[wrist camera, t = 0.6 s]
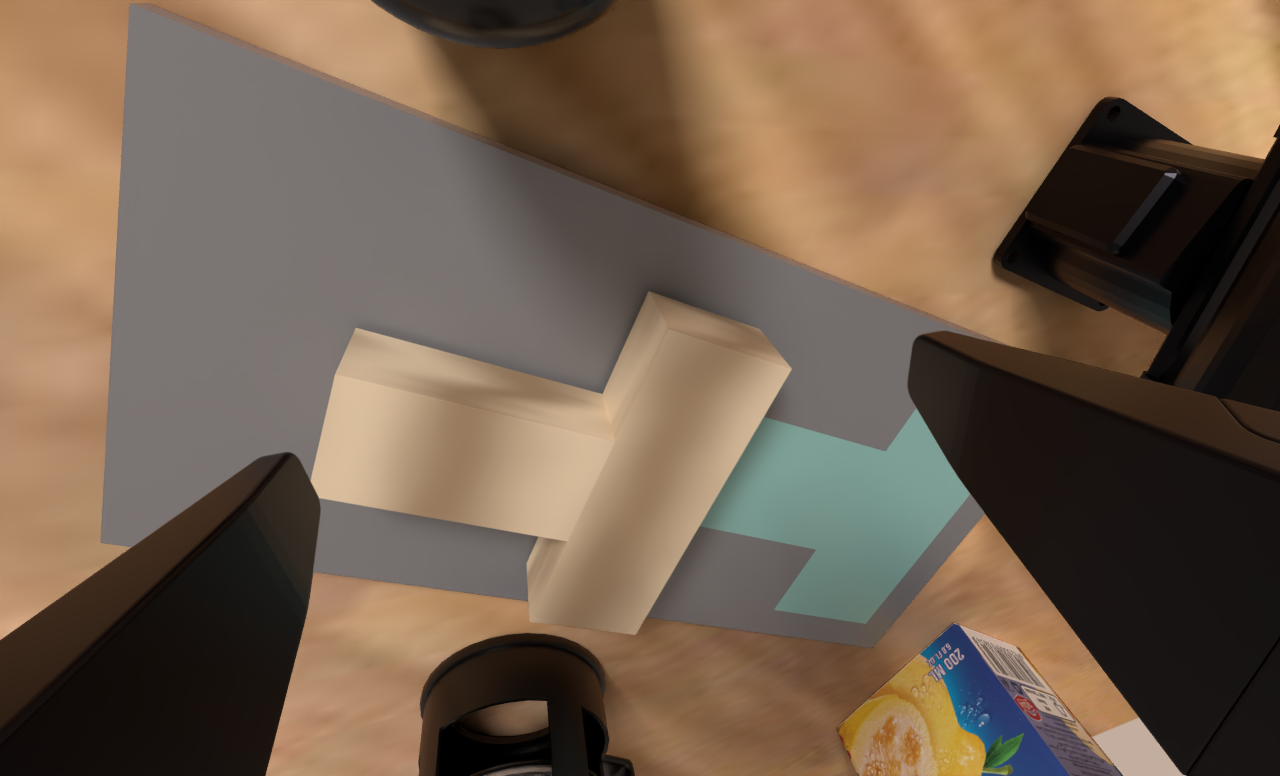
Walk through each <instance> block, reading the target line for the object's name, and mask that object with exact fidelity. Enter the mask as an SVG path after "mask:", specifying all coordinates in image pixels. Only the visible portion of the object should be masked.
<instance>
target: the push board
mask: <svg viewBox="0 0 1280 776" xmlns="http://www.w3.org/2000/svg"><path fill="white" fill-rule="evenodd" d="M648 291H650V292H653V293H656V294H659V295H662V296H665V297H668V298H671V299H673V300H676V301H679V302H682V303H685V304H688V305H691V306H694V307H697V308H700V309H703V310H706V311H709V312H711V313H714V314H717V315H720V316H723V317H726V318H729V319H732V320H735V321H738V322H741V323H744V324H746V325H749V326H752V327H755V328H758V329H760V330H761V331H762V333H763V334H764V335H765V336H766V337H767V339H768V340H769V341H770V342H771V344H772V345H773V346H774V347H775V349H776V350H777V351H778V352H779V354H780V355H781V356H782V357H783V358H784V360H785V361H786V362H787V363H788V365H789V366H790V367H791V368H792V370H791V371H790V373H789V375H788V377H787V378H786V380H785V382H784V383H783V385H782V387H781V388H780V390H779V392H778V394H777V395H776V397H775V399H774V400H773V402H772V404H771V405H770V407H769V409H768V411H767V412H766V414H765V416H764V417H763V419H762V421H761V422H760V424H759V426H758V428H757V429H756V431H755V433H754V434H753V436H752V438H751V439H750V441H749V443H748V445H747V446H746V448H745V450H744V451H743V453H742V455H741V456H740V458H739V460H738V462H737V463H736V465H735V467H734V468H733V470H732V472H731V473H730V475H729V477H728V479H727V480H726V482H725V484H724V485H723V487H722V489H721V490H720V492H719V494H718V496H717V497H716V499H715V501H714V502H713V504H712V506H711V507H710V509H709V511H708V513H707V514H706V516H705V518H704V519H703V521H702V523H701V525H700V526H699V528H698V530H697V531H696V533H695V535H694V536H693V538H692V540H691V542H690V543H689V545H688V547H687V548H686V550H685V552H684V553H683V555H682V557H681V559H680V560H679V562H678V564H677V565H676V567H675V569H674V570H673V572H672V574H671V576H670V577H669V579H668V581H667V582H666V584H665V586H664V587H663V589H662V591H661V593H660V594H659V596H658V598H657V599H656V601H655V603H654V604H653V606H652V608H651V610H650V611H649V613H648V615H647V616H646V617H648V618H655V619H662V620H670V621H677V622H684V623H692V624H699V625H706V626H714V627H721V628H728V629H736V630H743V631H750V632H758V633H765V634H772V635H780V636H787V637H794V638H802V639H809V640H817V641H824V642H831V643H839V644H846V645H853V646H861V647H868V648H873V647H874V646H875V645H876V644H877V642H878V641H879V640H880V639H881V638H882V636H883V635H884V634H885V633H886V632H887V630H888V629H889V628H890V627H891V626H892V624H893V623H894V622H895V621H896V620H897V618H898V617H899V616H900V615H901V614H902V612H903V611H904V610H905V609H906V608H907V606H908V605H909V604H910V603H911V602H912V600H913V599H914V598H915V597H916V596H917V594H918V593H919V592H920V591H921V590H922V588H923V587H924V586H925V585H926V584H927V582H928V581H929V580H930V579H931V578H932V576H933V575H934V574H935V573H936V572H937V570H938V569H939V568H940V567H941V566H942V564H943V563H944V562H945V561H946V560H947V558H948V557H949V556H950V555H951V554H952V552H953V551H954V550H955V549H956V548H957V546H958V545H959V544H960V543H961V542H962V540H963V539H964V538H965V537H966V536H967V534H968V533H969V532H970V531H971V530H972V528H973V527H974V526H975V525H976V524H977V522H978V521H979V520H980V519H981V518H982V516H983V515H984V514H985V513H984V511H983V510H982V509H981V507H980V506H979V505H978V504H977V502H976V501H975V500H974V498H973V497H972V496H971V494H970V493H969V492H968V490H967V489H966V488H965V486H964V485H963V483H962V482H961V481H960V479H959V478H958V476H957V475H956V473H955V472H954V470H953V469H952V467H951V466H950V464H949V462H948V461H947V459H946V457H945V456H944V454H943V452H942V451H941V449H940V447H939V446H938V444H937V442H936V440H935V439H934V437H933V435H932V434H931V432H930V430H929V429H928V427H927V425H926V424H925V422H924V420H923V418H922V417H921V415H920V413H919V412H918V410H917V408H916V407H915V405H914V403H913V402H912V400H911V398H910V395H909V393H908V387H907V380H908V373H909V366H910V359H911V351H912V345H913V342H914V340H915V338H916V337H917V336H919V335H921V334H925V333H930V332H936V331H944V330H945V331H950V332H954V333H958V334H962V335H966V336H970V337H974V338H979V339H983V340H987V341H991V342H995V343H999V344H1003V343H1001V342H998V341H996V340H993V339H990V338H988V337H985V336H983V335H980V334H978V333H975V332H973V331H970V330H968V329H965V328H963V327H960V326H958V325H955V324H953V323H950V322H948V321H945V320H943V319H940V318H938V317H935V316H933V315H930V314H928V313H925V312H923V311H920V310H918V309H915V308H913V307H910V306H908V305H905V304H903V303H900V302H898V301H895V300H893V299H890V298H887V297H885V296H882V295H880V294H877V293H875V292H872V291H870V290H867V289H865V288H862V287H860V286H857V285H855V284H852V283H850V282H847V281H845V280H842V279H840V278H837V277H835V276H832V275H830V274H827V273H825V272H822V271H820V270H817V269H815V268H812V267H810V266H807V265H805V264H802V263H800V262H797V261H795V260H792V259H789V258H787V257H784V256H782V255H779V254H777V253H774V252H772V251H769V250H767V249H764V248H762V247H759V246H757V245H754V244H752V243H749V242H747V241H744V240H742V239H739V238H737V237H734V236H732V235H729V234H727V233H724V232H722V231H719V230H717V229H714V228H712V227H709V226H707V225H704V224H702V223H699V222H697V221H694V220H691V219H689V218H686V217H684V216H681V215H679V214H676V213H674V212H671V211H669V210H666V209H664V208H661V207H659V206H656V205H654V204H651V203H649V202H646V201H644V200H641V199H639V198H636V197H634V196H631V195H629V194H626V193H624V192H621V191H619V190H616V189H614V188H611V187H609V186H606V185H604V184H601V183H599V182H596V181H593V180H591V179H588V178H586V177H583V176H581V175H578V174H576V173H573V172H571V171H568V170H566V169H563V168H561V167H558V166H556V165H553V164H551V163H548V162H546V161H543V160H541V159H538V158H536V157H533V156H531V155H528V154H526V153H523V152H521V151H518V150H516V149H513V148H511V147H508V146H506V145H503V144H501V143H498V142H495V141H493V140H490V139H488V138H485V137H483V136H480V135H478V134H475V133H473V132H470V131H468V130H465V129H463V128H460V127H458V126H455V125H453V124H450V123H448V122H445V121H443V120H440V119H438V118H435V117H433V116H430V115H428V114H425V113H423V112H420V111H418V110H415V109H413V108H410V107H408V106H405V105H403V104H400V103H398V102H395V101H392V100H390V99H387V98H385V97H382V96H380V95H377V94H375V93H372V92H370V91H367V90H365V89H362V88H360V87H357V86H355V85H352V84H350V83H347V82H345V81H342V80H340V79H337V78H335V77H332V76H330V75H327V74H325V73H322V72H320V71H317V70H315V69H312V68H310V67H307V66H305V65H302V64H300V63H297V62H294V61H292V60H289V59H287V58H284V57H282V56H279V55H277V54H274V53H272V52H269V51H267V50H264V49H262V48H259V47H257V46H254V45H252V44H249V43H247V42H244V41H242V40H239V39H237V38H234V37H232V36H229V35H227V34H224V33H222V32H219V31H217V30H214V29H212V28H209V27H207V26H204V25H202V24H199V23H196V22H194V21H191V20H189V19H186V18H184V17H181V16H179V15H176V14H174V13H171V12H169V11H166V10H164V9H161V8H159V7H156V6H154V5H151V4H136V3H130V7H129V25H128V44H127V62H126V81H125V99H124V118H123V136H122V155H121V173H120V192H119V210H118V229H117V247H116V266H115V285H114V303H113V322H112V340H111V359H110V377H109V396H108V414H107V433H106V451H105V470H104V488H103V507H102V525H101V543H105V544H112V545H120V546H127V547H133V546H134V545H136V544H137V543H139V542H140V541H141V540H143V539H144V538H146V537H147V536H148V535H150V534H151V533H153V532H154V531H156V530H157V529H158V528H160V527H161V526H163V525H164V524H165V523H167V522H168V521H170V520H171V519H173V518H174V517H175V516H177V515H178V514H180V513H181V512H182V511H184V510H185V509H187V508H188V507H190V506H191V505H192V504H194V503H195V502H197V501H198V500H199V499H201V498H202V497H204V496H205V495H207V494H208V493H209V492H211V491H212V490H214V489H215V488H216V487H218V486H219V485H221V484H222V483H224V482H225V481H226V480H228V479H229V478H231V477H232V476H233V475H235V474H236V473H238V472H239V471H241V470H242V469H243V468H245V467H246V466H248V465H249V464H250V463H252V462H253V461H255V460H256V459H258V458H259V457H262V456H267V455H272V454H277V453H283V452H291V453H293V454H295V455H296V456H297V457H298V458H299V460H300V461H301V463H302V465H303V467H304V469H305V471H306V473H307V475H308V477H309V479H310V481H311V476H312V472H313V468H314V463H315V459H316V455H317V450H318V446H319V442H320V437H321V433H322V429H323V424H324V420H325V416H326V411H327V407H328V403H329V398H330V394H331V390H332V385H333V381H334V377H335V373H336V371H337V369H338V366H339V364H340V362H341V360H342V358H343V355H344V353H345V351H346V349H347V346H348V344H349V342H350V340H351V337H352V335H353V333H354V331H355V328H359V329H363V330H366V331H370V332H374V333H378V334H381V335H385V336H389V337H392V338H396V339H400V340H404V341H407V342H411V343H415V344H418V345H422V346H426V347H430V348H433V349H437V350H441V351H444V352H448V353H452V354H456V355H459V356H463V357H467V358H470V359H474V360H478V361H482V362H485V363H489V364H493V365H496V366H500V367H504V368H508V369H511V370H515V371H519V372H522V373H526V374H530V375H534V376H537V377H541V378H545V379H548V380H552V381H556V382H559V383H563V384H567V385H571V386H574V387H578V388H582V389H585V390H589V391H593V392H597V393H600V394H603V392H604V390H605V387H606V385H607V383H608V381H609V378H610V376H611V374H612V372H613V369H614V367H615V365H616V363H617V361H618V358H619V356H620V354H621V352H622V349H623V347H624V345H625V343H626V341H627V338H628V336H629V334H630V332H631V329H632V327H633V325H634V323H635V320H636V318H637V316H638V314H639V312H640V309H641V307H642V305H643V303H644V300H645V298H646V296H647V294H648ZM1003 345H1006V344H1003ZM1007 346H1008V345H1007ZM319 500H320V506H321V515H320V523H319V531H318V538H317V546H316V554H315V561H314V569H313V572H318V573H325V574H332V575H340V576H347V577H354V578H362V579H369V580H376V581H384V582H391V583H398V584H406V585H413V586H420V587H428V588H435V589H442V590H450V591H457V592H464V593H472V594H479V595H486V596H494V597H501V598H508V599H516V600H523V601H528V584H527V561H528V559H529V557H530V555H531V552H532V550H533V548H534V546H535V543H536V541H537V539H538V536H533V535H527V534H521V533H516V532H510V531H504V530H498V529H493V528H487V527H481V526H476V525H470V524H464V523H459V522H453V521H447V520H441V519H436V518H430V517H424V516H419V515H413V514H407V513H401V512H396V511H390V510H384V509H379V508H373V507H367V506H362V505H356V504H350V503H344V502H339V501H333V500H327V499H322V498H319Z"/></svg>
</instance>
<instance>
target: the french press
mask: <svg viewBox="0 0 1280 776" xmlns="http://www.w3.org/2000/svg"><path fill="white" fill-rule="evenodd" d="M604 690H605V681H604V675H603V670H602V668H601V666H600V664H599V662H598V661H597V659H596V658H595V657H594V656H593V655H592V654H591V653H590V652H589V651H588V650H587V649H585V648H583V647H582V646H580V645H579V644H577V643H575V642H572V641H569V640H567V639H564V638H561V637H556V636H551V635H546V634H530V633H525V634H512V635H505V636H500V637H495V638H490V639H487V640H484V641H481V642H478V643H475V644H472V645H470V646H468V647H466V648H464V649H462V650H460V651H458V652H456V653H454V654H453V655H452V656H450V657H449V658H447V659H446V660H445V661H443V662H442V663H441V664H440V665H439V666H438V667H437V668H436V669H435V670H434V671H433V672H432V673H431V675H430V676H429V678H428V680H427V682H426V683H425V685H424V687H423V691H422V695H421V699H420V710H421V717H422V719H423V724H422V734H421V743H420V752H419V762H418V763H419V776H635V773H634V768H633V764H632V762H631V761H630V760H628V759H625V758H621V757H616V756H611V755H606V752H607V749H608V743H609V736H608V729H607V723H606V716H605V709H604V703H603V697H604ZM527 700H535V701H547V707H548V721H549V727H547V728H545V729H543V730H540V731H537V732H534V733H531V734H526V735H522V736H515V737H489V736H482V735H478V734H475V733H472V732H469V731H467V730H465V729H463V728H462V727H460V726H459V725H457V724H456V723H455V721H457V720H459V719H461V718H463V717H465V716H467V715H469V714H471V713H473V712H476V711H479V710H482V709H485V708H488V707H490V706H495V705H500V704H504V703H509V702H518V701H527Z"/></svg>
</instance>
